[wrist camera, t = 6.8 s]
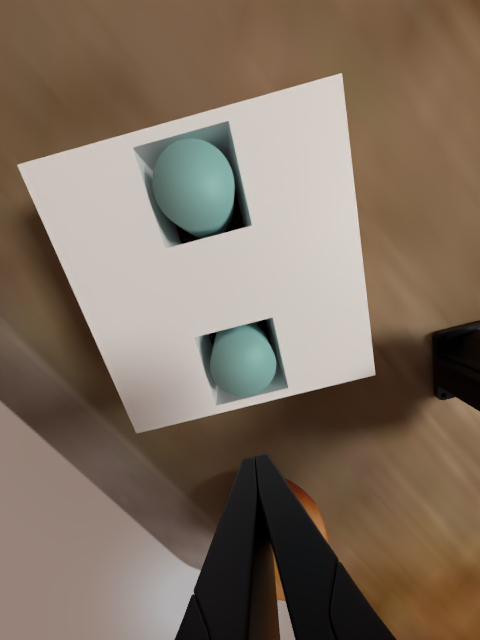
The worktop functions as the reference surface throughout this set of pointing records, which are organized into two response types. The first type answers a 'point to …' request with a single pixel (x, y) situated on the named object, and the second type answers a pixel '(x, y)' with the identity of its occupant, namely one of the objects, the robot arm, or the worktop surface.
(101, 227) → the socket board
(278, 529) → the robot arm
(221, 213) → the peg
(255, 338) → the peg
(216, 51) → the worktop surface
